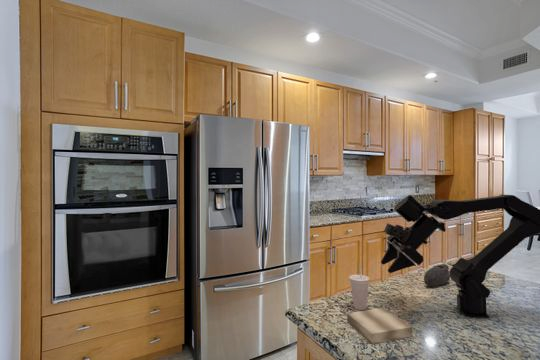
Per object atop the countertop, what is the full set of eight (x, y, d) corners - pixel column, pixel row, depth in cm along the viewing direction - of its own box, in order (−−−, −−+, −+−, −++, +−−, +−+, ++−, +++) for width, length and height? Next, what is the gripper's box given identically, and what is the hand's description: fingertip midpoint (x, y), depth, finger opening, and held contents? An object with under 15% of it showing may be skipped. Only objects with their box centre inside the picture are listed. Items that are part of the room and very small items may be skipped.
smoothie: (371, 312, 88) (370, 267, 88) (350, 311, 89) (349, 266, 90) (369, 304, 94) (367, 261, 95) (349, 302, 96) (347, 261, 96)
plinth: (383, 316, 86) (382, 307, 86) (412, 336, 74) (412, 326, 74) (347, 321, 82) (347, 313, 83) (372, 344, 71) (372, 333, 71)
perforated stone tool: (431, 290, 105) (431, 271, 105) (418, 286, 110) (417, 268, 110) (454, 283, 112) (453, 265, 112) (440, 279, 117) (440, 262, 117)
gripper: (391, 211, 100) (361, 244, 101) (408, 218, 81) (371, 257, 83) (417, 233, 98) (385, 266, 100) (440, 245, 80) (401, 284, 81)
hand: (385, 267), depth 91 cm, fingers open, 9 cm apart
